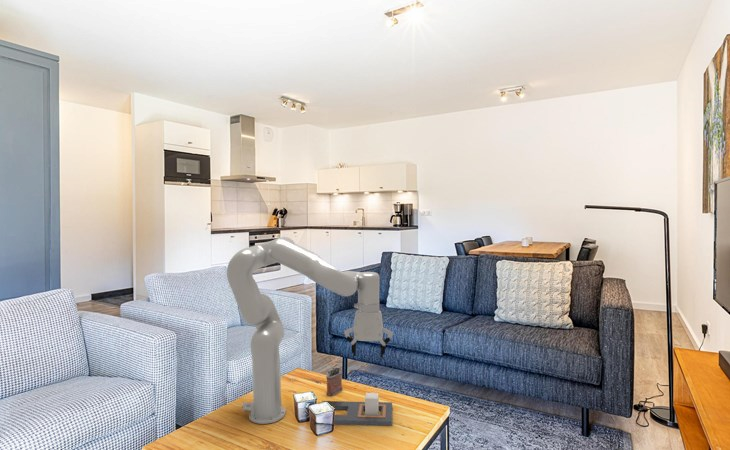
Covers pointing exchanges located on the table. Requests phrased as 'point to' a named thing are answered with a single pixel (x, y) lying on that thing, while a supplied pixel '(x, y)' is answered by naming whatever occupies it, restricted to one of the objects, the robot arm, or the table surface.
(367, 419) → the dark grey slotted board
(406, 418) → the table surface
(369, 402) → the peg
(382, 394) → the table surface
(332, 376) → the reddish brown rectangular container
